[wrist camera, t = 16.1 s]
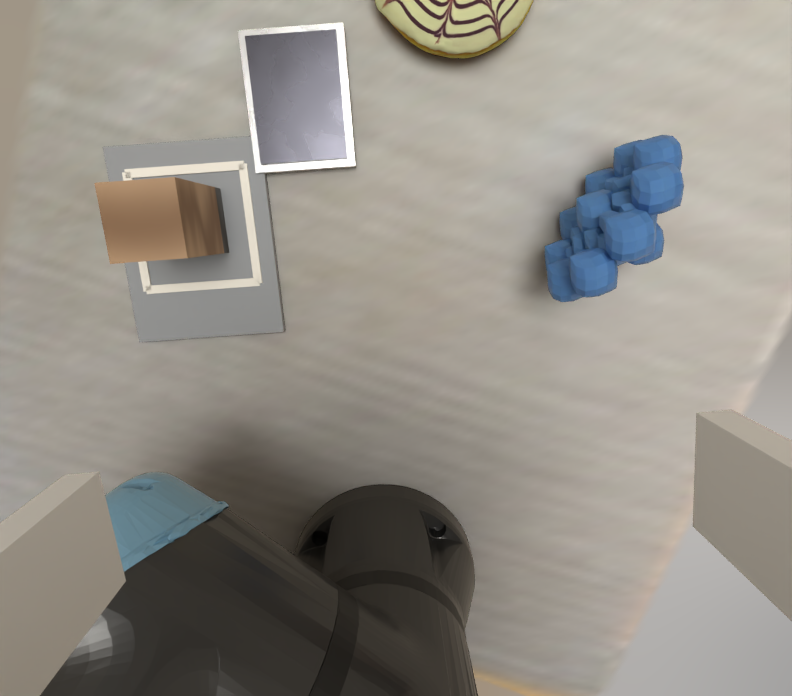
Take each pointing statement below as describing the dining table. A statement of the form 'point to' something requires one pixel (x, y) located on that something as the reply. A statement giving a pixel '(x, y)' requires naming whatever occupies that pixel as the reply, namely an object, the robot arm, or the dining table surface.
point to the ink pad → (298, 97)
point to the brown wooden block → (161, 219)
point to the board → (214, 274)
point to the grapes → (615, 219)
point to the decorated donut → (455, 23)
